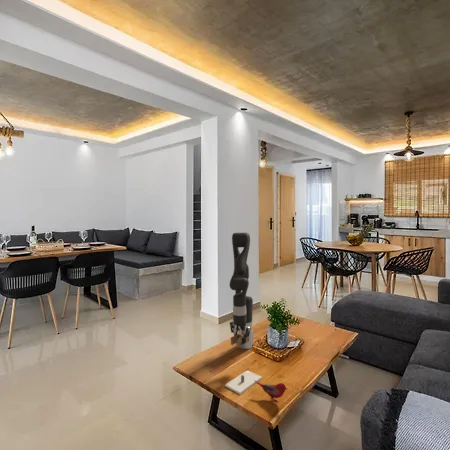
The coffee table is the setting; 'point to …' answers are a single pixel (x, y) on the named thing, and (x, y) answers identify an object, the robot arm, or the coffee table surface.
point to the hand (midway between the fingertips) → (240, 341)
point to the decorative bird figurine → (273, 390)
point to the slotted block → (238, 340)
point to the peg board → (243, 382)
